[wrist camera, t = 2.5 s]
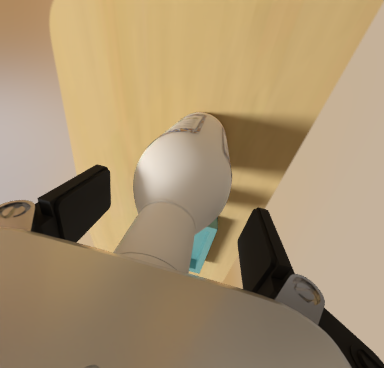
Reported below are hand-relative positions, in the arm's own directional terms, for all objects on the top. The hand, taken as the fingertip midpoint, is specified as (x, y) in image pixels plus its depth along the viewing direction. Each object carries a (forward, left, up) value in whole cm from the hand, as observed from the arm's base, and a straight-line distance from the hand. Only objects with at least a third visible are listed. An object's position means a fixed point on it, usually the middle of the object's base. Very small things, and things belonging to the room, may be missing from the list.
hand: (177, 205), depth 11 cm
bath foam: (0, -1, -14) cm, 14 cm away
